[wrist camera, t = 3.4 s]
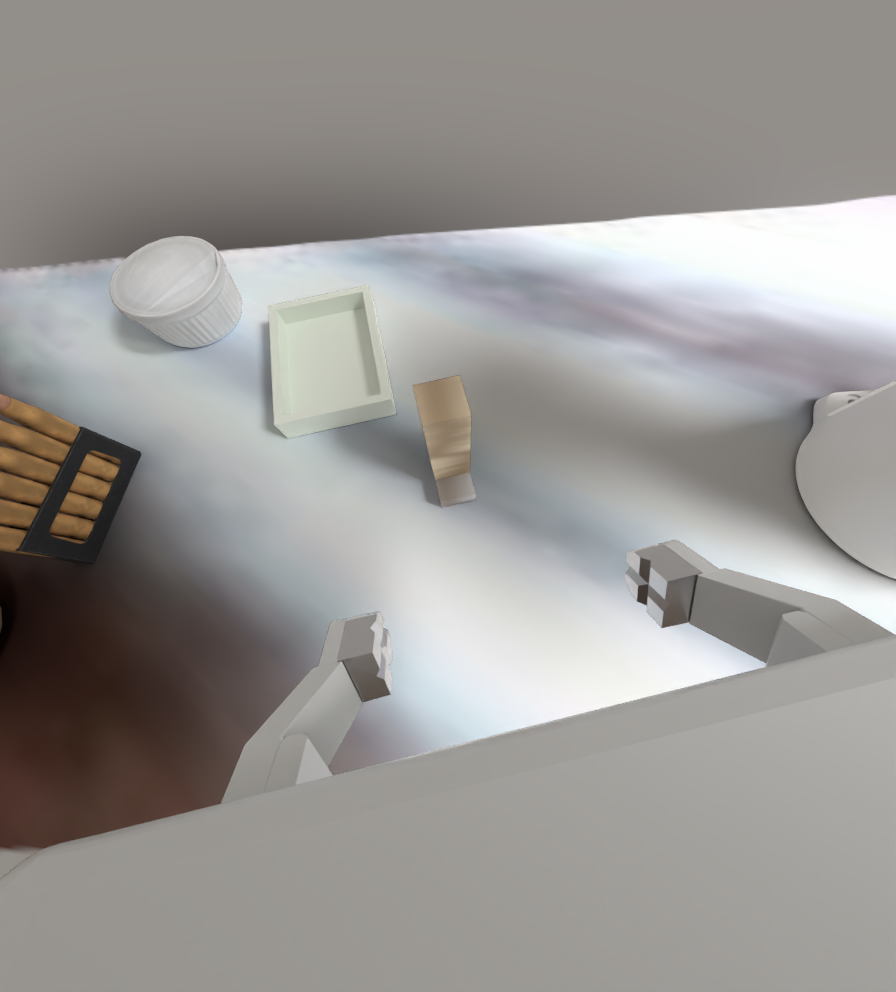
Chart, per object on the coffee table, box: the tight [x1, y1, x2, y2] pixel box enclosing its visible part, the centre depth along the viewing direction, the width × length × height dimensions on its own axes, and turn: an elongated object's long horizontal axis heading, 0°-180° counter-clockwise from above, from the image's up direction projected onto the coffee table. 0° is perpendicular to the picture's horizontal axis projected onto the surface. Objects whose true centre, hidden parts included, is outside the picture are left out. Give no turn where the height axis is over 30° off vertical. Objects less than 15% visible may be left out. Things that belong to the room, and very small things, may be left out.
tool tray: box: [268, 285, 397, 438], centre depth 33 cm, size 11×15×2 cm
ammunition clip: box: [0, 394, 141, 564], centre depth 24 cm, size 11×2×12 cm, turn 175°
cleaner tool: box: [413, 375, 476, 508], centre depth 25 cm, size 3×7×10 cm, turn 13°
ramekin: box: [110, 236, 242, 348], centre depth 35 cm, size 11×11×5 cm
